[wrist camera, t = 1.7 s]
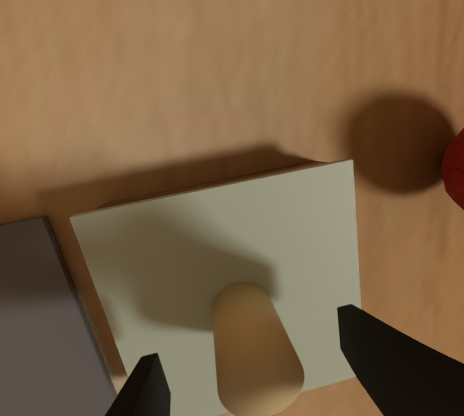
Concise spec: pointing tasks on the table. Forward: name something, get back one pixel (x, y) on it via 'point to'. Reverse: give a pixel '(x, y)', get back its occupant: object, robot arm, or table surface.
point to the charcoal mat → (45, 331)
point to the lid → (231, 286)
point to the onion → (454, 169)
